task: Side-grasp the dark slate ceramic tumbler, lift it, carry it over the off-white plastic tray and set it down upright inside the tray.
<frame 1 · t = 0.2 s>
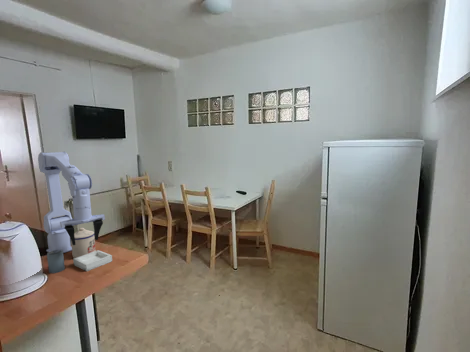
hand: (85, 241, 100), 10 cm above the kitchen counter, tool pointing down, fingers open, 7 cm apart
tray: (93, 263, 105), on the kitchen counter
tumbler: (57, 270, 99), on the kitchen counter
teacup with lid: (85, 253, 115), on the kitchen counter
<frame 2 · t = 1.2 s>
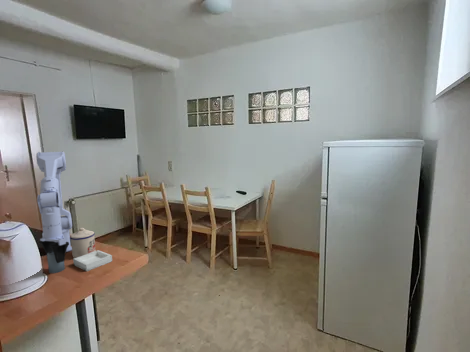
hand: (55, 259, 99), 4 cm above the kitchen counter, tool pointing down, fingers open, 7 cm apart
nothing on the kitchen counter moved.
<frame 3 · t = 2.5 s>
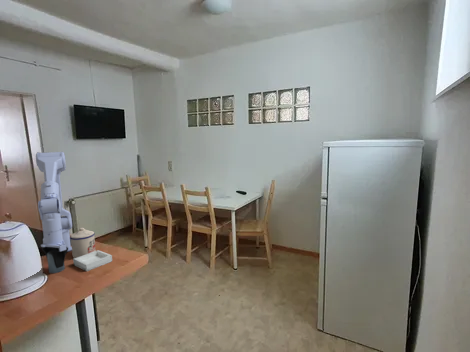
hand: (56, 265, 99), 2 cm above the kitchen counter, tool pointing down, fingers closed on tumbler, 5 cm apart
tumbler: (57, 270, 99), on the kitchen counter, touching gripper
everything else where it was.
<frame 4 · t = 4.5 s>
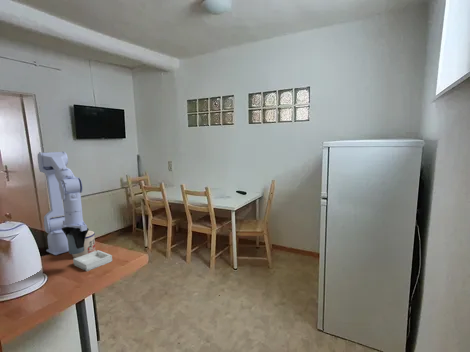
hand: (76, 246, 99), 9 cm above the kitchen counter, tool pointing down, fingers closed on tumbler, 5 cm apart
tumbler: (76, 251, 99), point 7 cm above the kitchen counter, touching gripper
everything else where it was.
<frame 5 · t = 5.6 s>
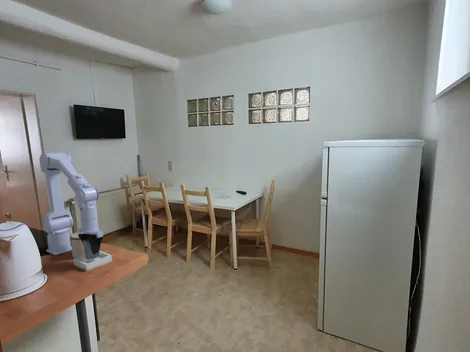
hand: (92, 251, 104), 5 cm above the kitchen counter, tool pointing down, fingers closed on tumbler, 5 cm apart
tumbler: (92, 256, 104), point 3 cm above the kitchen counter, touching gripper
everything else where it was.
when the fingers open (4 cm above the kitchen counter, at t = 6.6 s): tumbler drops 1 cm, resting on tray.
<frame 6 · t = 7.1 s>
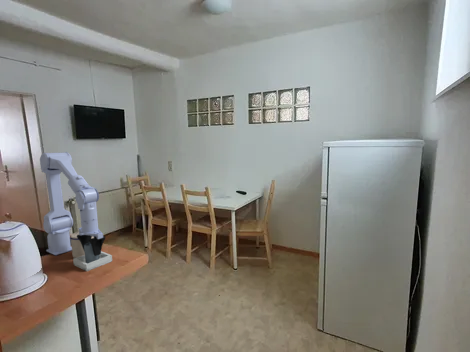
hand: (92, 252, 104), 4 cm above the kitchen counter, tool pointing down, fingers open, 7 cm apart
tumbler: (92, 261, 104), point 1 cm above the kitchen counter, touching tray
everything else where it was.
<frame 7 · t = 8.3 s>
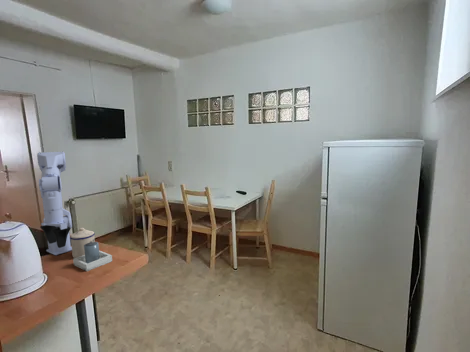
hand: (57, 244, 98), 10 cm above the kitchen counter, tool pointing down, fingers open, 7 cm apart
nothing on the kitchen counter moved.
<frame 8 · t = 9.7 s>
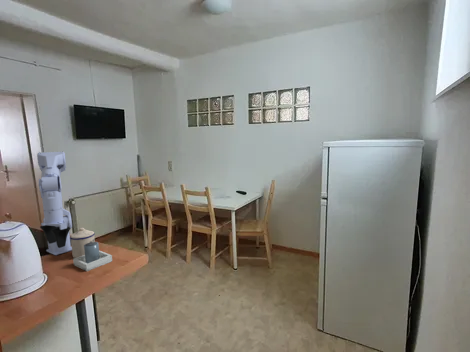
hand: (56, 244, 98), 10 cm above the kitchen counter, tool pointing down, fingers open, 7 cm apart
nothing on the kitchen counter moved.
at the end: tumbler 0.1 cm off-centre on the tray, point 0.8 cm above the tray's base; tumbler tilted 0°; the gripper is holding nothing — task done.
